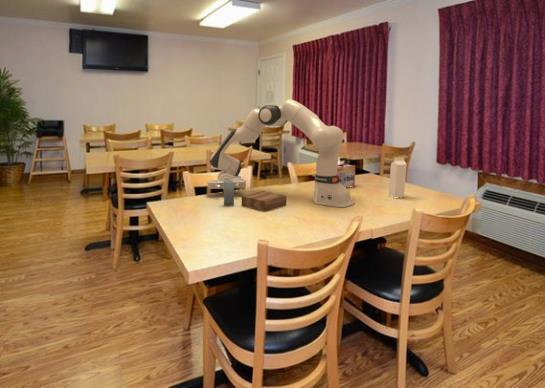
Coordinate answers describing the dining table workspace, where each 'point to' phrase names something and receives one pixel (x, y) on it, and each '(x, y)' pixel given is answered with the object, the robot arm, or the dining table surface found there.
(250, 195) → the walnut base
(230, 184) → the grey rectangular block
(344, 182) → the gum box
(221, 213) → the dining table surface
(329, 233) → the dining table surface
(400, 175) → the milk
